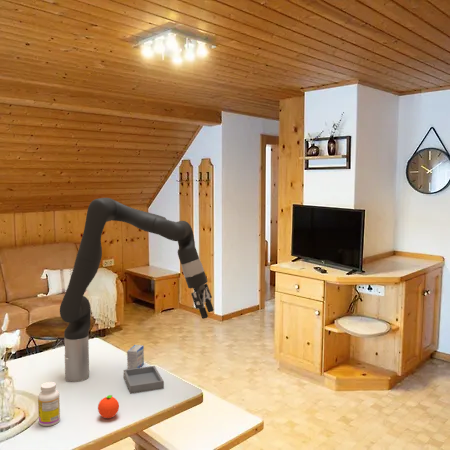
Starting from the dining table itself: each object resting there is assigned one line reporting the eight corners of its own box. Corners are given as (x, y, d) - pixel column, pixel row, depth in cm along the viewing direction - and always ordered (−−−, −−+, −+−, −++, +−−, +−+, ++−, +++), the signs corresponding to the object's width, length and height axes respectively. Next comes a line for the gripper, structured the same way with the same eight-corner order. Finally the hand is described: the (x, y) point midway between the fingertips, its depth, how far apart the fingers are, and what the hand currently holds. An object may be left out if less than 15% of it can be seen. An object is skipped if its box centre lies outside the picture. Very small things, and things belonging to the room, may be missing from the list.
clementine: (102, 410, 164) (102, 390, 164) (122, 410, 164) (121, 391, 163) (95, 422, 156) (95, 401, 156) (116, 422, 156) (115, 402, 156)
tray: (130, 393, 177) (130, 386, 177) (123, 377, 191) (123, 369, 191) (163, 388, 181) (163, 381, 181) (154, 372, 196) (154, 365, 196)
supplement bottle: (42, 417, 159) (41, 380, 158) (62, 416, 160) (61, 380, 159) (36, 427, 153) (34, 389, 151) (57, 426, 153) (56, 388, 152)
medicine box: (137, 371, 197) (136, 351, 196) (127, 370, 198) (126, 350, 197) (144, 364, 205) (143, 345, 204) (134, 363, 206) (134, 344, 205)
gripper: (190, 272, 181) (204, 312, 181) (179, 280, 167) (193, 323, 167) (208, 266, 179) (221, 307, 179) (198, 274, 165) (213, 317, 166)
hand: (208, 314), depth 173 cm, fingers open, 8 cm apart
